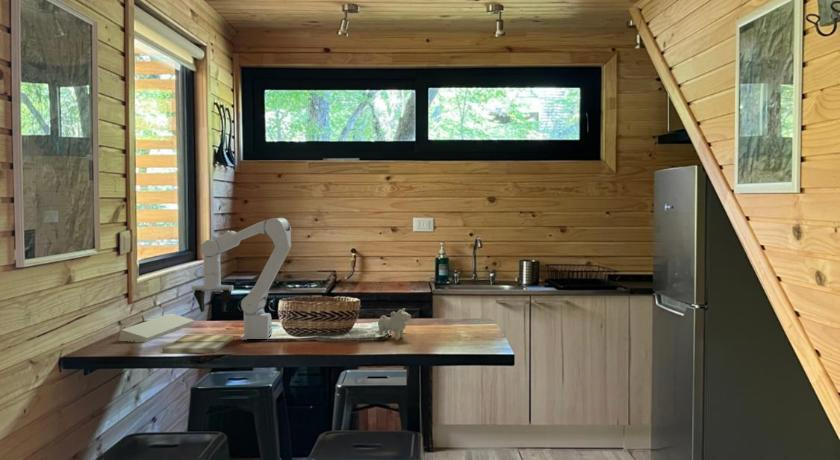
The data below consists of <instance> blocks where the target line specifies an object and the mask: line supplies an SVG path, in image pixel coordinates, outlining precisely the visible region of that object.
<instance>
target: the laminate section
mask: <svg viewBox="0 0 840 460" xmlns="http://www.w3.org/2000/svg"><path fill="white" fill-rule="evenodd" d="M225 346H226V345H225V342H175V341H172V343H169V344H167V345H166V346H165V347H164V346H163V348H162V353H163V354H164V353H165V354H169V353H170V354H175V353H176V354H179V353H180V354H186V353H187V354H188V353H190V354H195V353H199V354H202V353H203V354H205V353H206V354H207V353H208V354H211V353H213V354H215V353H217V352H218V351H219V350H221V349H223V348H224V347H225Z"/></svg>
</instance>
